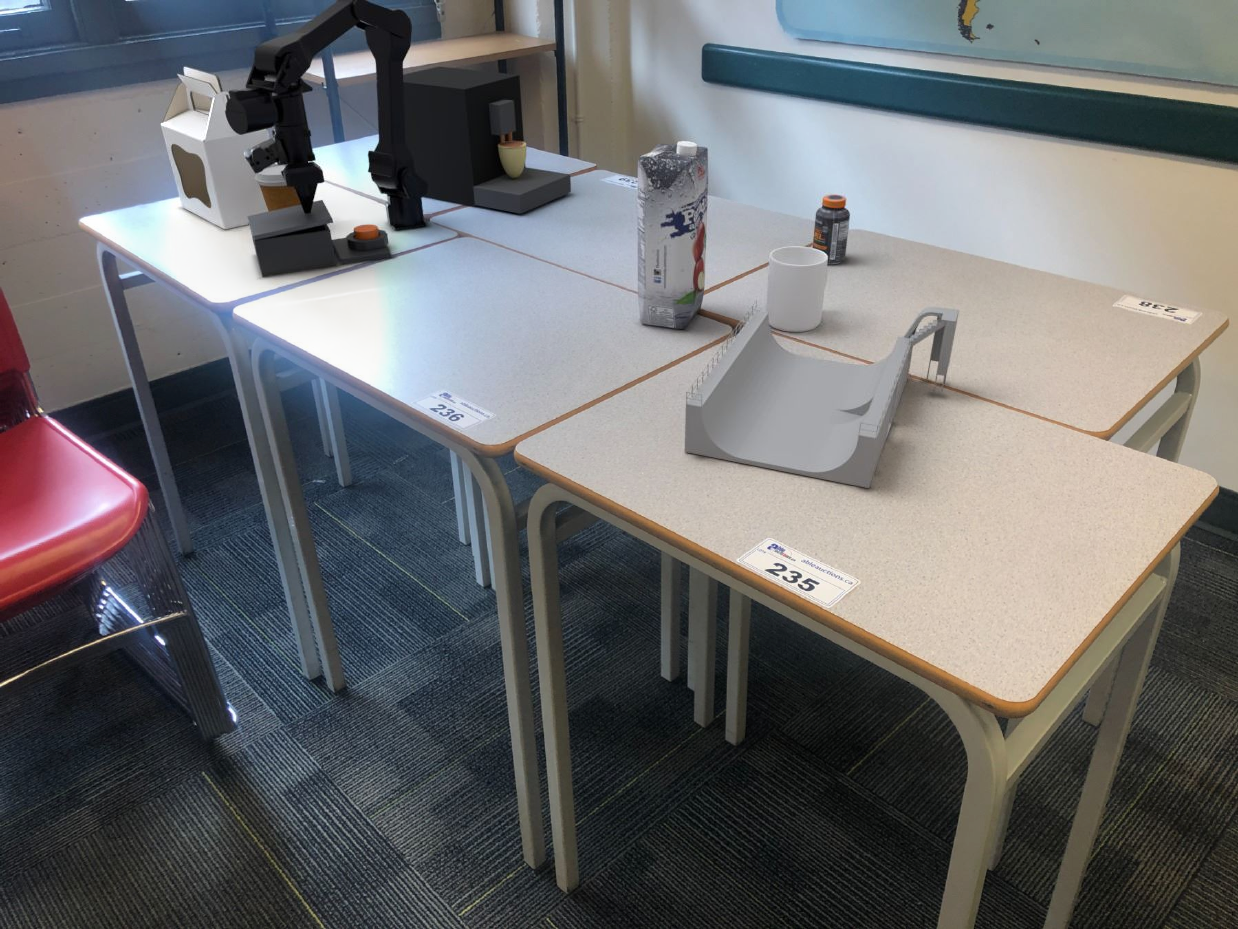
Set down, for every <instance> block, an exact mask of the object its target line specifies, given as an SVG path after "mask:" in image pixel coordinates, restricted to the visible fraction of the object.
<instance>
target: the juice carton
mask: <svg viewBox="0 0 1238 929" xmlns="http://www.w3.org/2000/svg"><path fill="white" fill-rule="evenodd" d="M636 185H637V186H636V188H637V192H636V193H637V194H636V197H637V200H636V202H637V204H636V205H637V206H636V207H637V303H638V312H639V317H640V322H641V324H643V325H648V326H655V327H663V328H669V329H675V330H684V329H685V328H686V327H688V325H689V324H690V322H691V321H692V320H693V318H694V317H695V316H696V315H697V314H698V313H699V311H700V310H701V308H702V305H703V300H704V296H705V284H706V256H707V229H708V198H709V197H708V196H709V149H708V147H706V146H698V143H696V142H692V141H689V140H680V141H677V144H673V143H672V144H669V143H658V144H656V146H655V147H654V148H653V149H652V150H651V151H650V152H648V153H645V154H642V155H640V156H639V157H638V159H637V184H636Z"/></svg>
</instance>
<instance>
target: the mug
mask: <svg viewBox="0 0 1238 929" xmlns="http://www.w3.org/2000/svg"><path fill="white" fill-rule="evenodd" d="M827 261H828V256H827V254H826V253H824V252H822V251H820V250H818V249H814V248H813V247H809V246H801V245H799V246H797V245H795V246H793V245H792V246H791V245H790V246H783V247H779V248H775V249H773V250H772V251H771V252H770V253H769V257H768V273H767V285H766V299H765V312H769V326H770V327H771V328H774V329H775V330H779V331H783V332H788V333H789V332H790V333H803V332H809V331H812V330H814V329H816V328H817V327H818V326H819V325H820V323H821V322H822V316H823V310H824V309H823V307H824V298H825V291H826V290H825V289H826V285H827V281H828V273H829V269H828V264H827Z"/></svg>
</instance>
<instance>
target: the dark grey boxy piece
mask: <svg viewBox="0 0 1238 929" xmlns="http://www.w3.org/2000/svg"><path fill="white" fill-rule="evenodd" d="M248 225H249V229H250V234H251V239H252V242H253V243H252V244H253V248H254V251H255V256H256V259H257V263H258V266H259V270H260V274H261V277H262V278H267V277H273V276H275V277H276V276H280V275H288V274H295V273H300V272H301V273H302V272H308V271H314V270H322V269H329V268H336V267H337V260H336V255H335V254H336V253H335V250H334V248H333V243H332V240H333V238H332V233H331V229H330V227H329V226H328V225H329V224H324V225H320V226H315V227H311V228H307V229H302V230H298V231H293V232H289V233H285V234H280V235H276V236H271V237H267V238H262V239H258V240H254V238H253V234H252V231H251V227H250V224H248Z"/></svg>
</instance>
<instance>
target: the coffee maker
mask: <svg viewBox="0 0 1238 929" xmlns="http://www.w3.org/2000/svg"><path fill="white" fill-rule="evenodd" d="M520 76H521V75H520V74H514V73H503V72H497V71H496V72H495V71H486V70H477V69H467V68H457V67H449V66H434V67H430V68H426V69H421V70H418V71H413V72H408V73H405V74H404V73H403V85H404V118H405V142H406V145H407V147H408V149H409V151H410V153H411V155H412V157H413V159H414V166H415V172H416V173H417V174H418V175H419V176H420V177H421V178H422V179H423V180H424V181H426V182H427V183H428V189H427V195H424V196H422V198H427V199H432V200H438V201H442V202H448V203H453V204H456V205H457V204H458V205H463V206H467V207H468V206H469V207H473V208H478V207H485V208H489V209H494V210H495V209H496V210H499V211H504V212H510V213H516V214H520V215H521V214H524V213H526V212H528V211H531V210H532V209H535V208H537V207H539V206H540V207H541V206H542V205H544V204H546V203H549V202H551V201H554V200H556V199H558V198H561V197H564V196H565V195H568V194H570V193H572V186H571V185H572V183H571V181H572V180H571V174H570V173H563V172H556V171H551V170H545V169H538V168H532V167H528V166H527V165H526V160H527V142H525V136H524V122H523V108H522V94H521V91H522V90H521V78H520Z"/></svg>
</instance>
